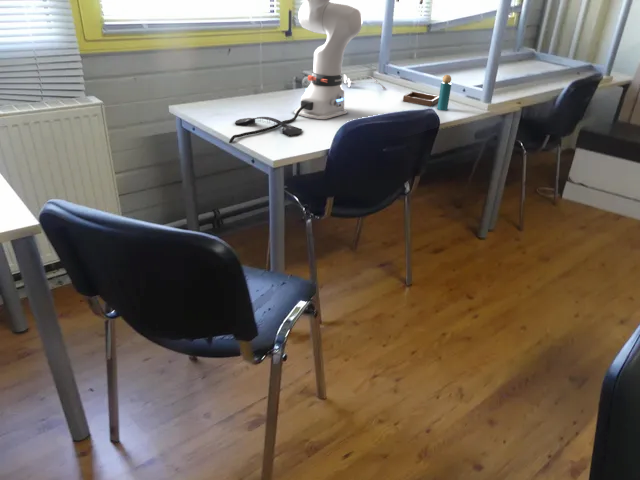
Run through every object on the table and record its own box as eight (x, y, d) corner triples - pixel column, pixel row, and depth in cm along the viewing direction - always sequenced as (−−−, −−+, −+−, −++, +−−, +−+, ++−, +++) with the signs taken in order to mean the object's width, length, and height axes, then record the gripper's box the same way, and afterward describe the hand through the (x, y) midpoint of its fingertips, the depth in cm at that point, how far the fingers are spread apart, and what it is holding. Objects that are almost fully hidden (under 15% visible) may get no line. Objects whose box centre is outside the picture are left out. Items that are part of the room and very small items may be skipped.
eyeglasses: (342, 81, 269) (343, 73, 267) (377, 82, 273) (378, 74, 271) (349, 89, 256) (350, 80, 254) (386, 90, 261) (387, 81, 259)
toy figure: (445, 111, 235) (451, 76, 228) (435, 109, 237) (441, 74, 229) (448, 109, 239) (454, 74, 231) (438, 107, 240) (444, 73, 233)
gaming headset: (293, 137, 186) (293, 128, 184) (231, 124, 193) (230, 114, 192) (305, 131, 193) (306, 122, 192) (245, 118, 201) (245, 109, 199)
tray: (431, 106, 240) (432, 101, 239) (402, 101, 244) (403, 95, 243) (439, 101, 249) (439, 96, 248) (411, 96, 253) (412, 91, 252)
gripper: (386, -40, 208) (382, 1, 215) (440, -34, 207) (434, 6, 214) (388, -40, 214) (384, -1, 221) (440, -35, 212) (435, 5, 219)
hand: (409, 3), depth 217 cm, fingers open, 8 cm apart
